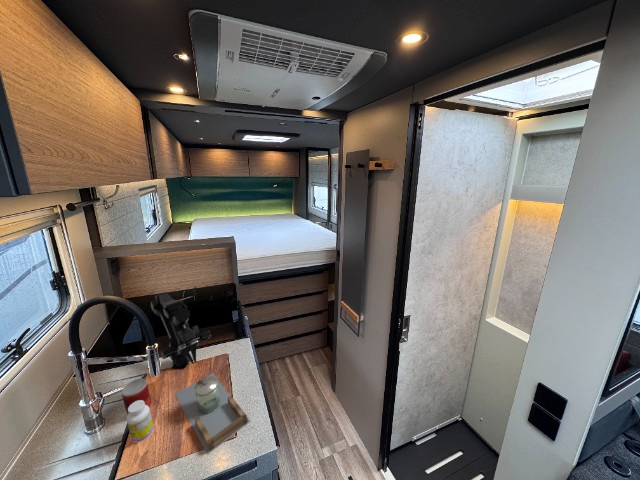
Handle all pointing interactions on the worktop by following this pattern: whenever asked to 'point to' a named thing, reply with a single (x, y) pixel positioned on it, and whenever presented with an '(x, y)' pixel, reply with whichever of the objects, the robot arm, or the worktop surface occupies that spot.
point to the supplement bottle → (139, 421)
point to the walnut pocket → (226, 431)
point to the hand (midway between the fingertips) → (194, 363)
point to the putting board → (212, 420)
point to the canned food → (136, 393)
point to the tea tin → (207, 394)
